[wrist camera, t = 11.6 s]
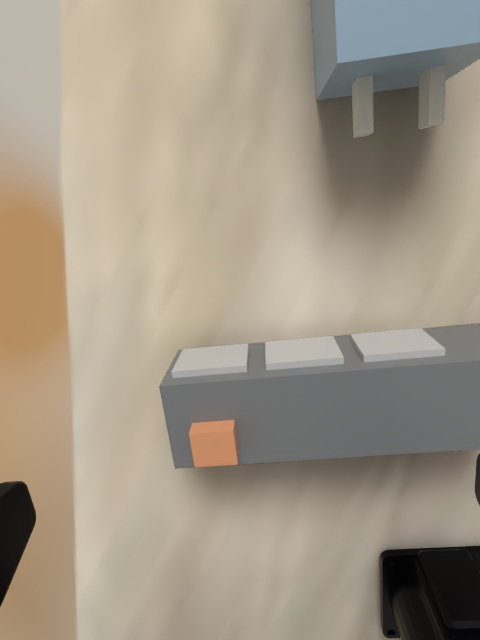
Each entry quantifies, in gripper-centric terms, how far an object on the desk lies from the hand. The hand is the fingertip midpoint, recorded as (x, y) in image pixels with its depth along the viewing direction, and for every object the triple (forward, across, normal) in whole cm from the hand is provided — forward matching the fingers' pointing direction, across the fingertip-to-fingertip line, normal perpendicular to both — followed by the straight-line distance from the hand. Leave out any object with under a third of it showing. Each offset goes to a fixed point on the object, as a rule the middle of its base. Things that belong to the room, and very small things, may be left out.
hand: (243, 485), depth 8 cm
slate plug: (+12, -6, -12) cm, 18 cm away
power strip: (+12, -4, +4) cm, 13 cm away
